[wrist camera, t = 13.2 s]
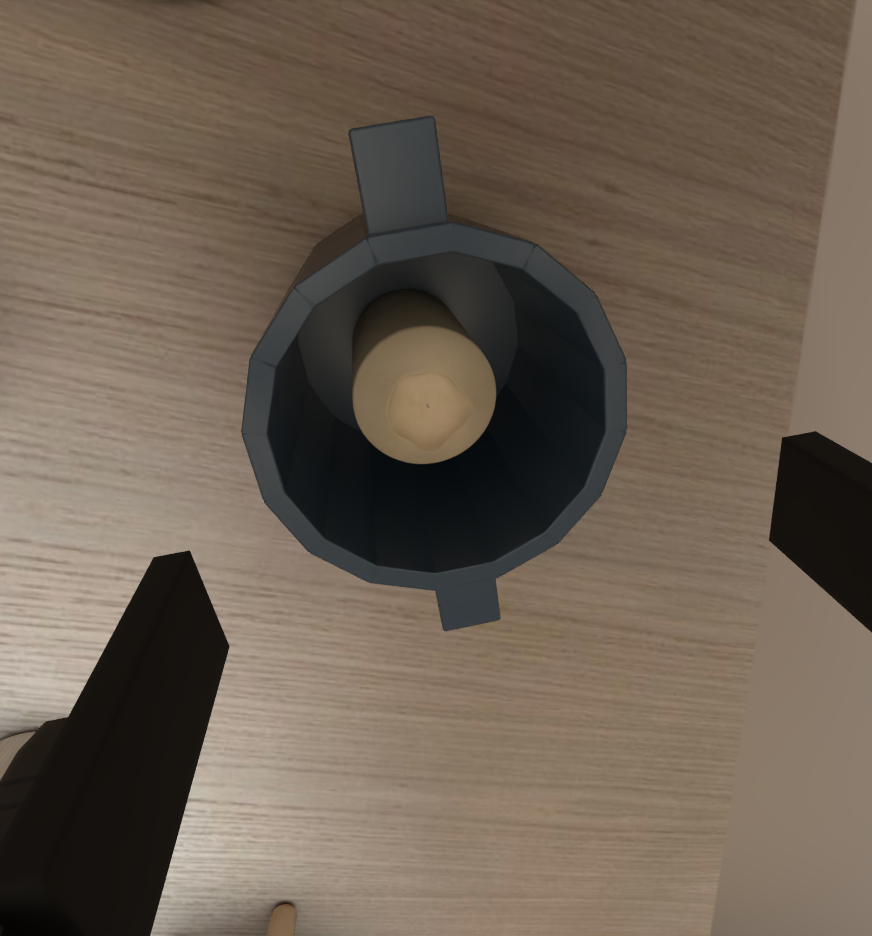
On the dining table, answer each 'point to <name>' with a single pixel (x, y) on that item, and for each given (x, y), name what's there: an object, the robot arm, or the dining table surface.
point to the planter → (282, 921)
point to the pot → (516, 377)
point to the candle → (419, 379)
